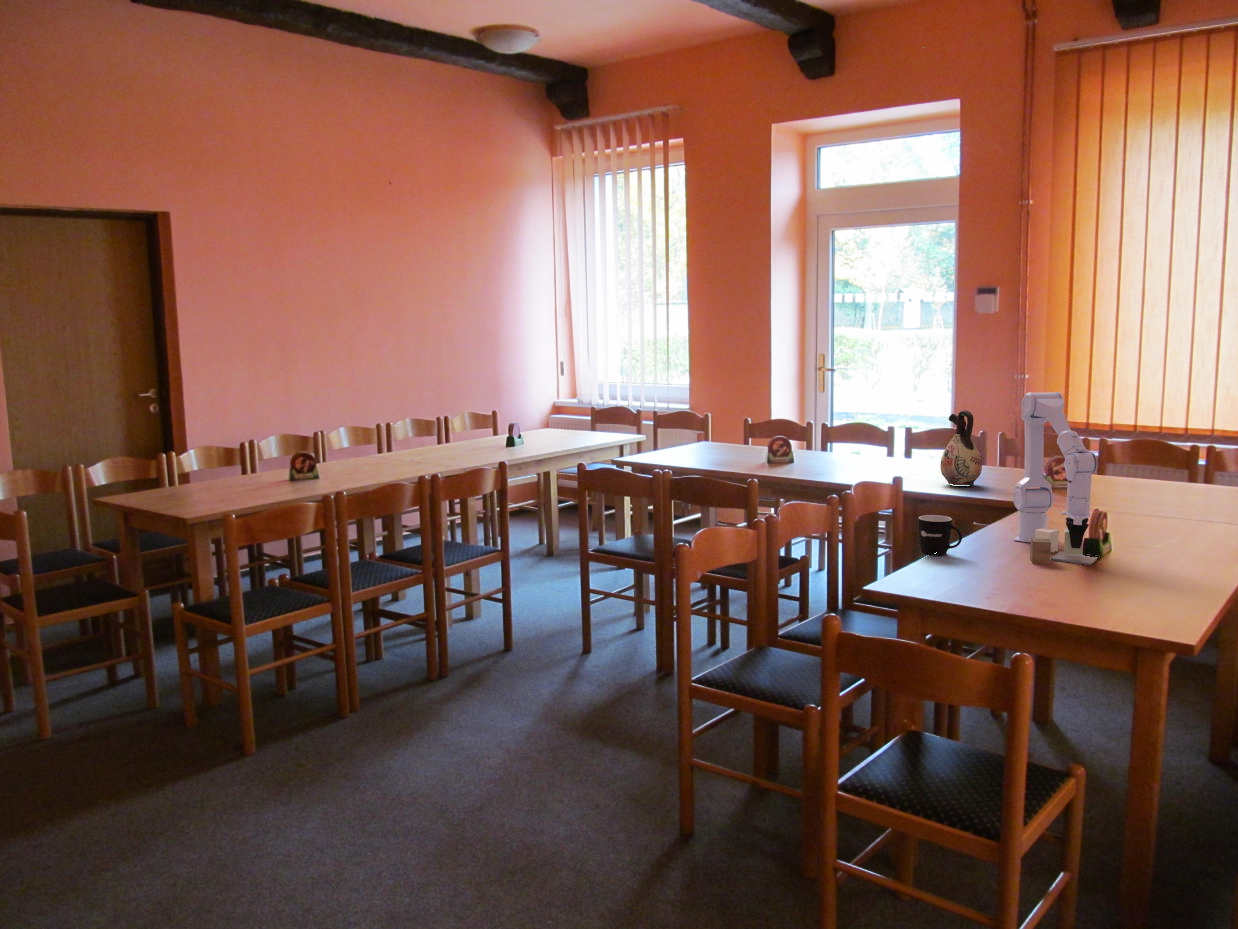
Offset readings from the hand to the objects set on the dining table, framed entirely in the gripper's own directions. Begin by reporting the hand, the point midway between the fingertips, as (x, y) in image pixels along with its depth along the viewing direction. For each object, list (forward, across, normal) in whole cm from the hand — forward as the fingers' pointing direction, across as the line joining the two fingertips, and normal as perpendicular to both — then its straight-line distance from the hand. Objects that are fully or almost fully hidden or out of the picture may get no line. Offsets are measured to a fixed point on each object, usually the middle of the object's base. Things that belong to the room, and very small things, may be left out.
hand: (1075, 546), depth 267 cm
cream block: (+4, -8, -7) cm, 11 cm away
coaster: (+4, 0, 0) cm, 4 cm away
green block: (+2, 0, 0) cm, 2 cm away
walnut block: (+4, +6, -9) cm, 11 cm away
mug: (+4, +7, -35) cm, 36 cm away
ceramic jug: (+4, -111, -40) cm, 118 cm away
